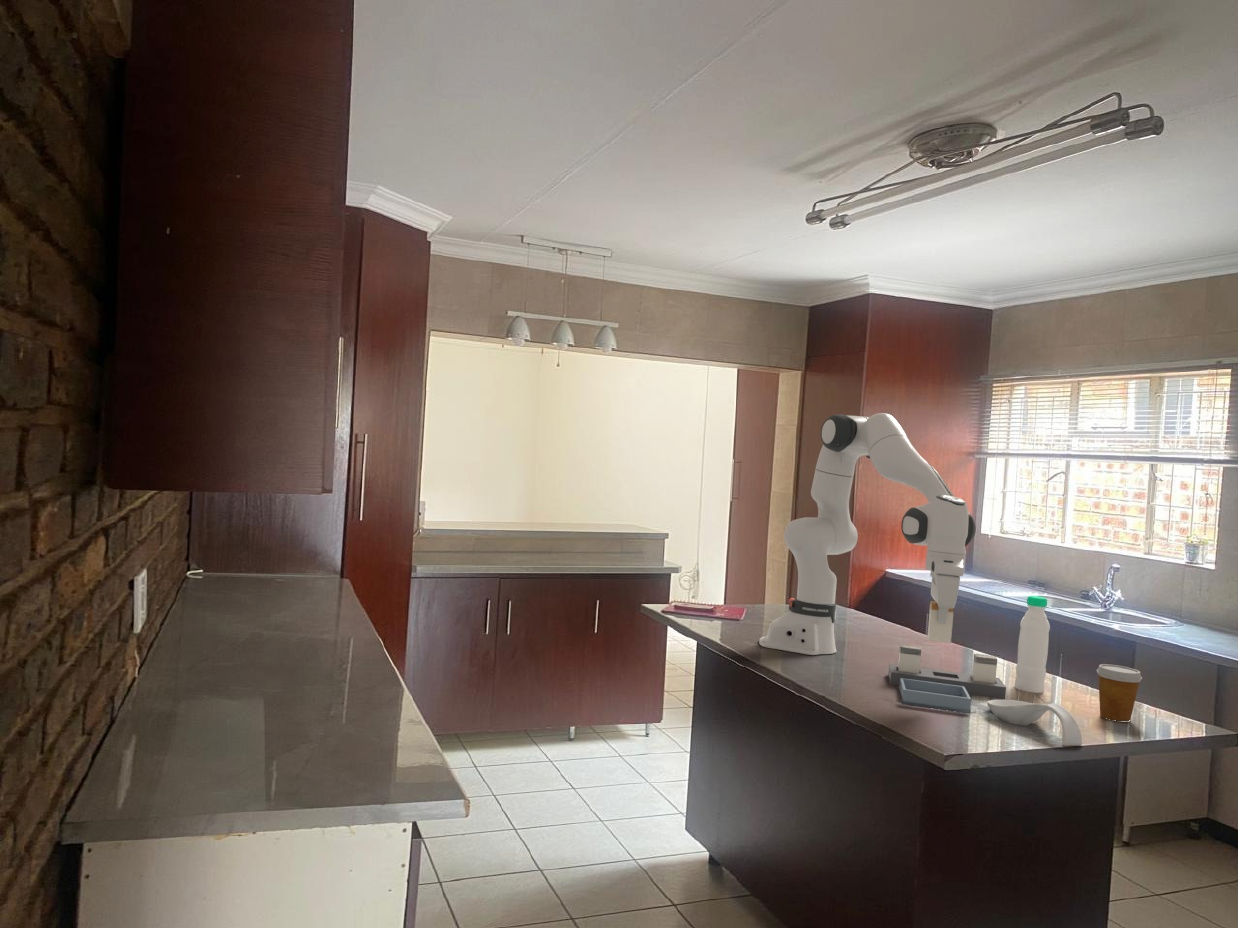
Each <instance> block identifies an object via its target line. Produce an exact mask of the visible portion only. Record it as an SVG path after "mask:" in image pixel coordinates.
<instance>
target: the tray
mask: <svg viewBox="0 0 1238 928" xmlns="http://www.w3.org/2000/svg"><path fill="white" fill-rule="evenodd" d="M898 689H899V692H900V696H901V704H902V705H903V706H904V705H905V706H911V707H918V708H923V709H924V708H925V709H931V708H933V709H932V710H938V709H940V711H946V710H948V712H953V711H956V712H955V713H960V712H962V714H967V713H970V714H971V705H972V698H971V695H969V694H968V692H967V691H966V689H965V687H964V686H956V685H949V684H942V683H934V682H927V681H919V680H912V679H904V678H900V685H898Z"/></svg>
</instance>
